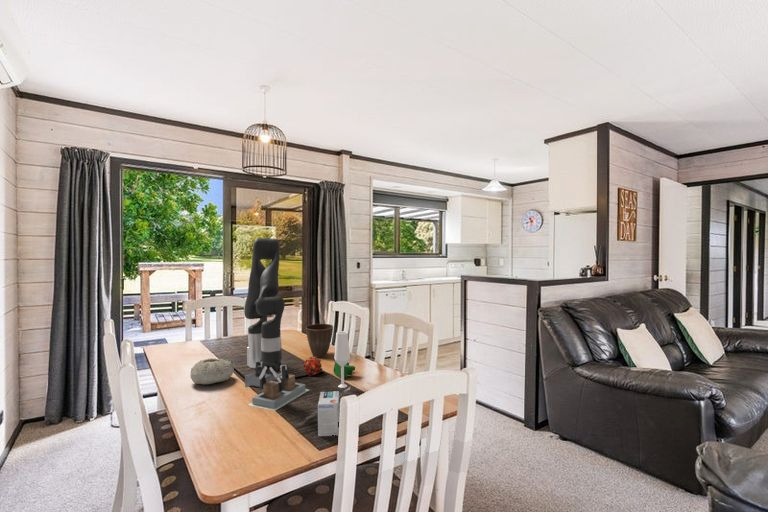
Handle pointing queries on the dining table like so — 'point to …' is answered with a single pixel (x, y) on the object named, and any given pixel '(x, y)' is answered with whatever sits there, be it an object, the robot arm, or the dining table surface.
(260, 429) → the dining table surface
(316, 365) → the dragon fruit
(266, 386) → the walnut billet
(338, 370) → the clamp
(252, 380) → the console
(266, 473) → the dining table surface
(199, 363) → the decorative shell
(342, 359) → the champagne flute
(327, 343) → the plant pot
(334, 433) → the light bulb box
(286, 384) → the block
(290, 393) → the gray compartment tray
